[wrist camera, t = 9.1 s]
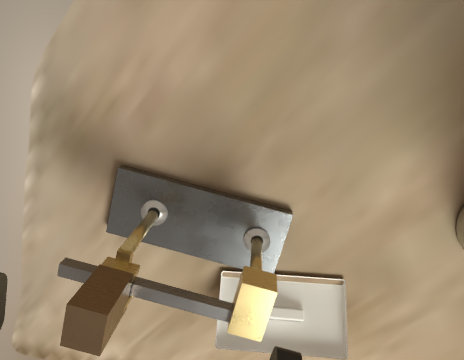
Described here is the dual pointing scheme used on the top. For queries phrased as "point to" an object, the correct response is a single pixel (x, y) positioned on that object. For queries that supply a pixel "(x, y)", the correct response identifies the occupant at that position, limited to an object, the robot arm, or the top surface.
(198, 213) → the bolt plate
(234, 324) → the dividers frame
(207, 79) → the top surface
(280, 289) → the light switch
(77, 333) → the block
